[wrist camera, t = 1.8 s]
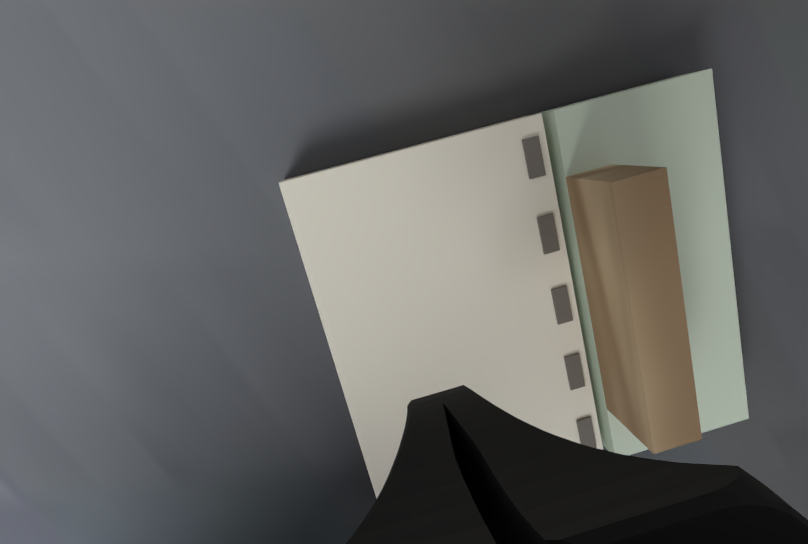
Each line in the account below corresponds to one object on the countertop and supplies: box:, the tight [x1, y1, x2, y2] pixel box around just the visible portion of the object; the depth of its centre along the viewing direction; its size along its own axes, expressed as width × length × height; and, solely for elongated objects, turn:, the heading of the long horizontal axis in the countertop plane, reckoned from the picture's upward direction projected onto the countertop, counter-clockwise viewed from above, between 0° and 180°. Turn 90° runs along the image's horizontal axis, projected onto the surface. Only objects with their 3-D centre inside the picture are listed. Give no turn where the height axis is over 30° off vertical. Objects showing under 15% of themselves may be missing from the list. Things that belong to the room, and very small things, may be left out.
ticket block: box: [279, 113, 603, 499], centre depth 18 cm, size 8×12×2 cm, turn 14°
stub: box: [536, 68, 749, 455], centre depth 17 cm, size 5×12×4 cm, turn 14°
